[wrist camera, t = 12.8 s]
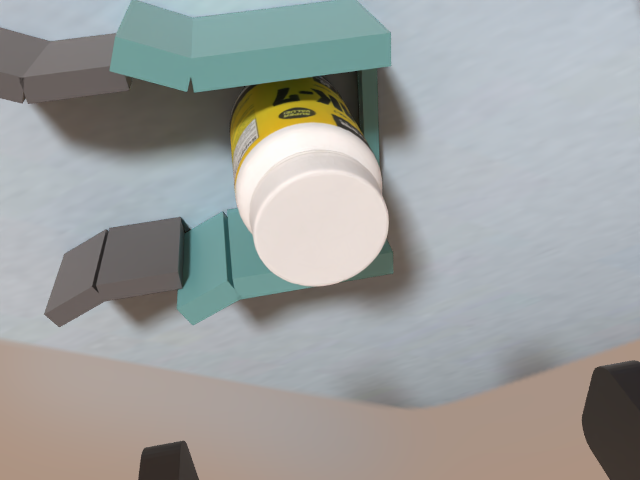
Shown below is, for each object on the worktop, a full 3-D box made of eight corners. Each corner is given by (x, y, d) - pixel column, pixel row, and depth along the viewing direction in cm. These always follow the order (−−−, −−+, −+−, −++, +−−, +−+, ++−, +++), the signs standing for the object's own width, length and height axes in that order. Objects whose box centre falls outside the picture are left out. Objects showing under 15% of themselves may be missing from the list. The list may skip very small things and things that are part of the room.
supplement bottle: (365, 90, 24) (434, 189, 17) (317, 189, 26) (361, 313, 19) (252, 45, 22) (277, 134, 15) (211, 155, 24) (216, 277, 17)
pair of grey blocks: (127, 5, 20) (114, 35, 17) (188, 248, 26) (186, 305, 23) (-28, 23, 20) (-73, 58, 17) (69, 267, 26) (50, 328, 22)
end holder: (369, -30, 21) (410, -1, 17) (376, 222, 27) (408, 288, 23) (120, 0, 20) (99, 38, 16) (184, 252, 26) (181, 327, 22)
